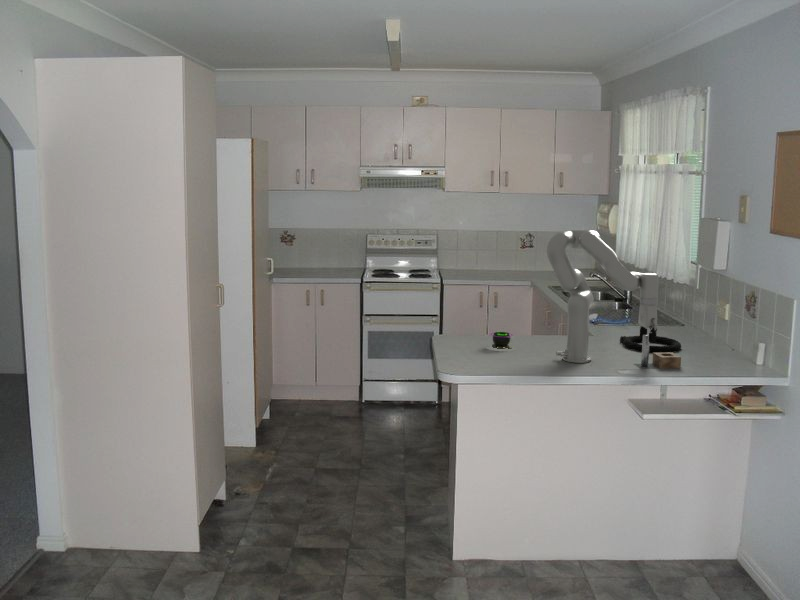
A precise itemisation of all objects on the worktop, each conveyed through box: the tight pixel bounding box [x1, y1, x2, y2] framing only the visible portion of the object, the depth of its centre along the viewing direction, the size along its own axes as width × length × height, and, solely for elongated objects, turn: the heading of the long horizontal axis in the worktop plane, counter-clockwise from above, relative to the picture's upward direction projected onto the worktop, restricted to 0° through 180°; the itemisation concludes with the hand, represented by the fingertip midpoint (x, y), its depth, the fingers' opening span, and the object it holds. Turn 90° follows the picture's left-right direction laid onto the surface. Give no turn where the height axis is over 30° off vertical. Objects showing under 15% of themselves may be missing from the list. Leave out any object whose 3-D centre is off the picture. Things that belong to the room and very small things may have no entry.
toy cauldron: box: [490, 326, 514, 349], centre depth 382 cm, size 15×15×11 cm
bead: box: [651, 352, 682, 369], centre depth 349 cm, size 9×9×5 cm
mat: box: [633, 363, 683, 370], centre depth 349 cm, size 19×9×1 cm, turn 95°
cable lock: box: [619, 335, 682, 354], centre depth 389 cm, size 28×4×30 cm
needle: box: [640, 334, 651, 367], centre depth 347 cm, size 3×3×14 cm
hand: (647, 339), depth 346 cm, fingers open, 9 cm apart
